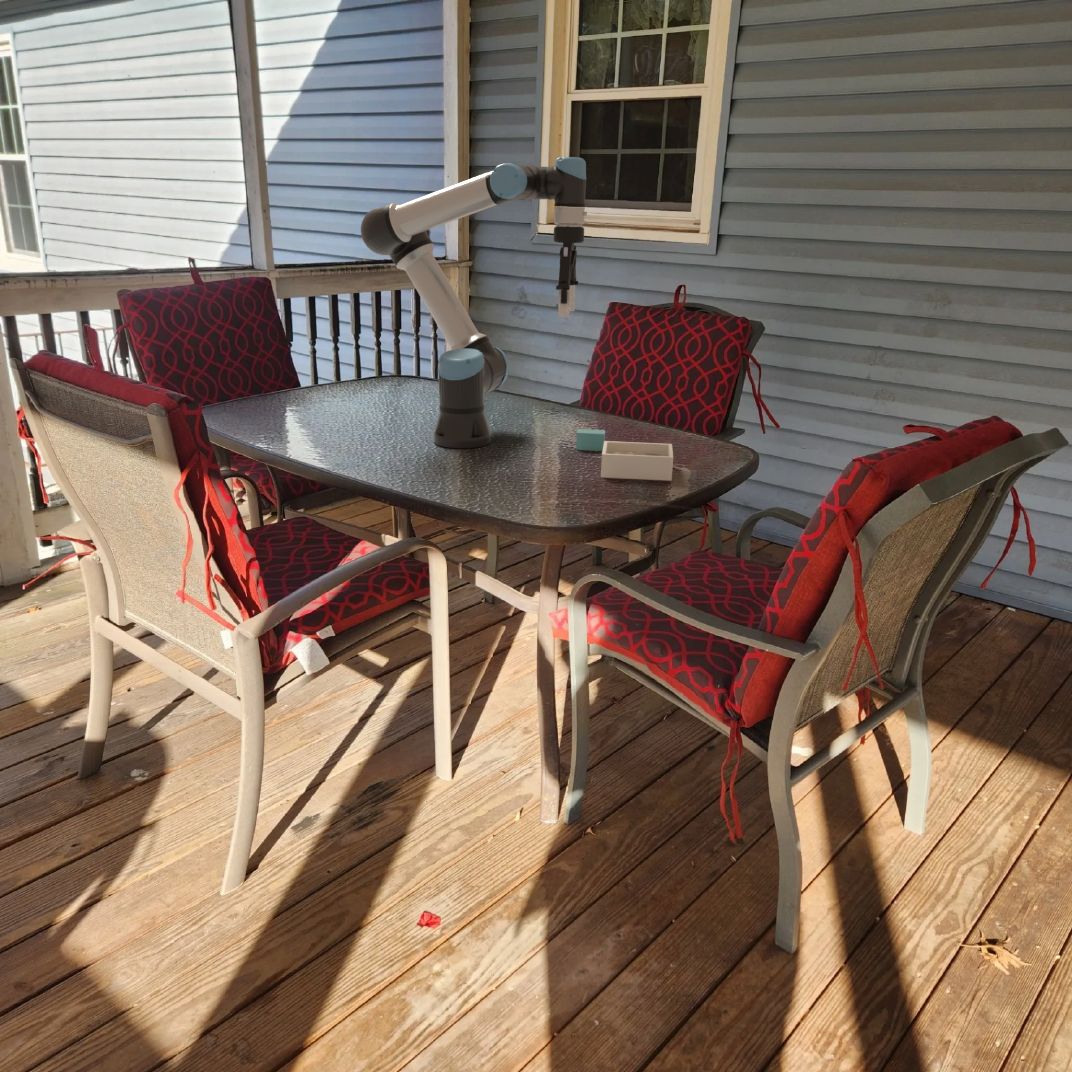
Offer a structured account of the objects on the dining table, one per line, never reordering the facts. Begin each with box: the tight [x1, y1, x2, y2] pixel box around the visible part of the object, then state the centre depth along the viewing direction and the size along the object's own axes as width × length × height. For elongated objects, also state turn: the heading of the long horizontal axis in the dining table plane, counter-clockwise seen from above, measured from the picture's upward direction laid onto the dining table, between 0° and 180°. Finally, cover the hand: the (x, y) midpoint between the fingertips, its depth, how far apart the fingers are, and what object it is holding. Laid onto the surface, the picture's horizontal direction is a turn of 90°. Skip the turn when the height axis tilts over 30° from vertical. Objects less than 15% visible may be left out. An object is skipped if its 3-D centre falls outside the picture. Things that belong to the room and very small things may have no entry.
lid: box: [575, 428, 606, 452], centre depth 217 cm, size 24×13×5 cm, turn 83°
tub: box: [600, 440, 674, 482], centre depth 198 cm, size 16×12×6 cm
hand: (566, 314), depth 218 cm, fingers open, 13 cm apart
